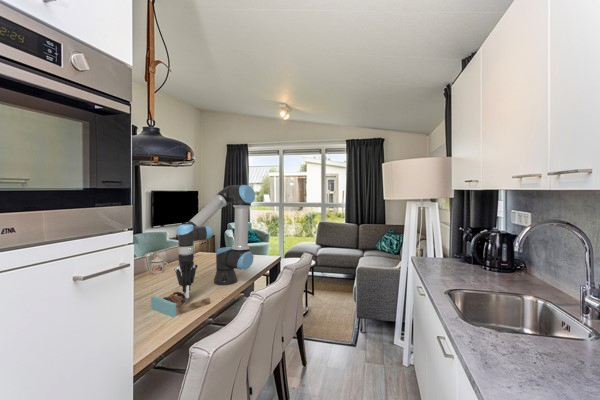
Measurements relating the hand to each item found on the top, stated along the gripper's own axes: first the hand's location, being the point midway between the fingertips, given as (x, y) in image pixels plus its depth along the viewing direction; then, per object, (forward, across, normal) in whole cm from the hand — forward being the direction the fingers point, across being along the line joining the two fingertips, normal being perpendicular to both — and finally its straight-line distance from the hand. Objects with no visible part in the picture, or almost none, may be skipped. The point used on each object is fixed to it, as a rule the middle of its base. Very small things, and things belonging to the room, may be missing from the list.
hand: (186, 297), depth 162 cm
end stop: (+4, -13, 0) cm, 14 cm away
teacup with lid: (+4, +29, +76) cm, 81 cm away
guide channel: (+4, -2, 0) cm, 4 cm away
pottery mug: (+4, -6, +3) cm, 8 cm away
